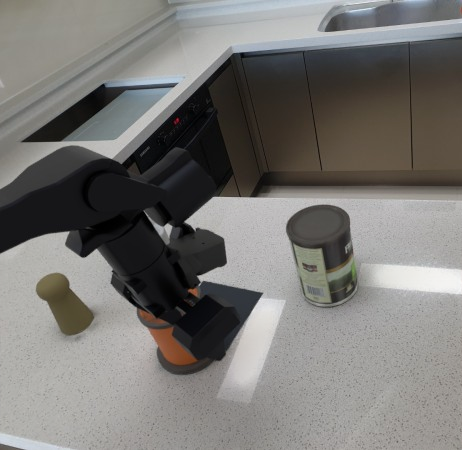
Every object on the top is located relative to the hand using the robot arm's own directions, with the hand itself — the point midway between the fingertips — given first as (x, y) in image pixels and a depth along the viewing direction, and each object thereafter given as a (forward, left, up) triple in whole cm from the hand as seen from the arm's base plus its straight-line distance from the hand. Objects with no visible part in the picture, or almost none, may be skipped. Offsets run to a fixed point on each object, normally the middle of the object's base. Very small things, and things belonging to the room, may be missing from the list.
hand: (200, 339), depth 58 cm
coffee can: (+26, +5, -14) cm, 30 cm away
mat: (+8, +17, -14) cm, 23 cm away
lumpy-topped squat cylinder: (+7, +41, -14) cm, 44 cm away
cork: (-10, +35, -14) cm, 40 cm away
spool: (+2, +13, -14) cm, 19 cm away
